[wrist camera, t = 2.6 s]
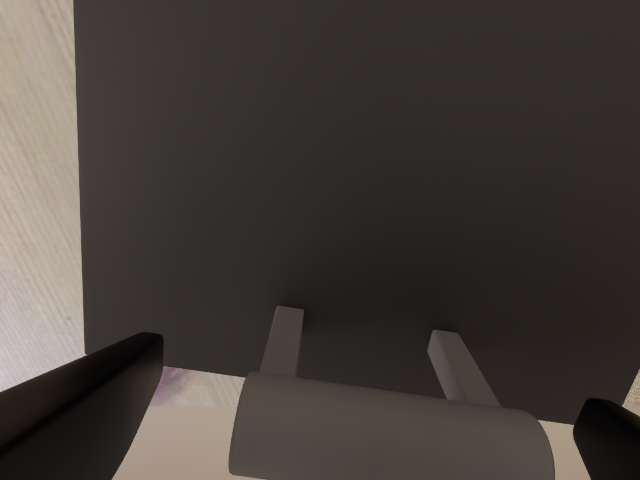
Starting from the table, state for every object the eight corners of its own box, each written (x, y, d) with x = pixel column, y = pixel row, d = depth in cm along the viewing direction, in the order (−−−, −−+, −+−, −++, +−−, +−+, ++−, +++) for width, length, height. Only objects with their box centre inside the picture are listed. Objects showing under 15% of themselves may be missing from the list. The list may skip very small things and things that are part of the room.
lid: (593, 411, 12) (785, 627, 7) (100, 339, 11) (-77, 513, 6) (844, -149, 8) (1782, -625, 3) (88, -289, 7) (-424, -1146, 2)
